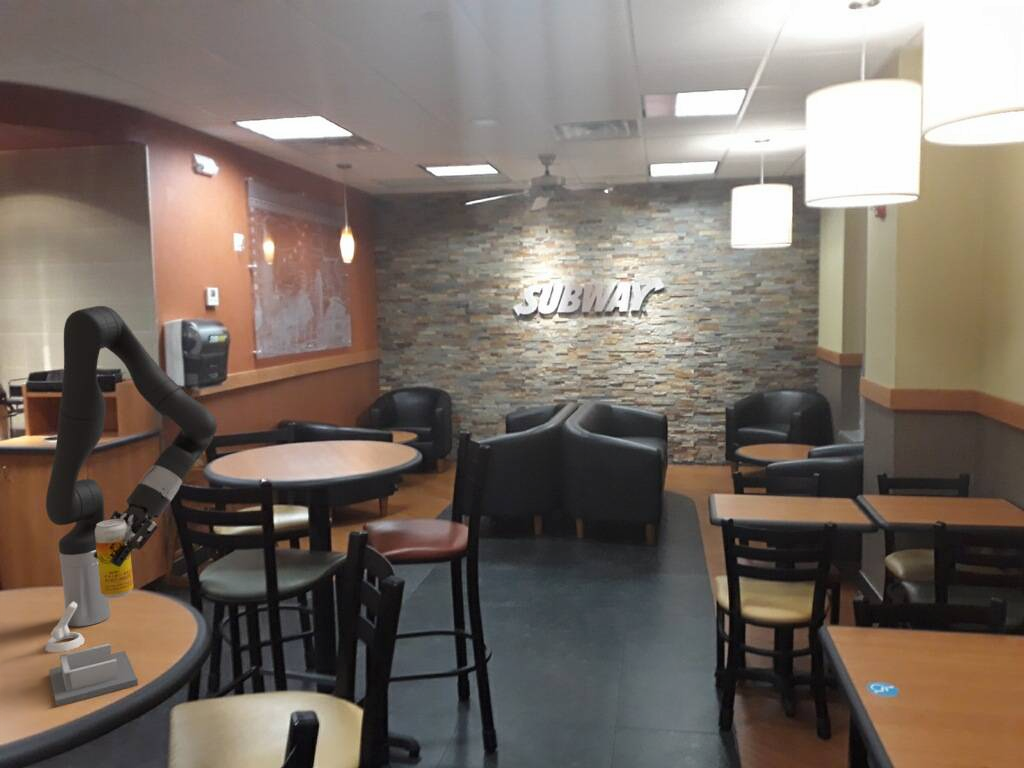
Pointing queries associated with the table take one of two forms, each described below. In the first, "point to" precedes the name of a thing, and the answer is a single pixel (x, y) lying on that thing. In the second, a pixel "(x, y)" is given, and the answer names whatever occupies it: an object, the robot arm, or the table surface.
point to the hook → (64, 633)
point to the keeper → (91, 674)
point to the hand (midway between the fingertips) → (106, 561)
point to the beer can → (107, 544)
